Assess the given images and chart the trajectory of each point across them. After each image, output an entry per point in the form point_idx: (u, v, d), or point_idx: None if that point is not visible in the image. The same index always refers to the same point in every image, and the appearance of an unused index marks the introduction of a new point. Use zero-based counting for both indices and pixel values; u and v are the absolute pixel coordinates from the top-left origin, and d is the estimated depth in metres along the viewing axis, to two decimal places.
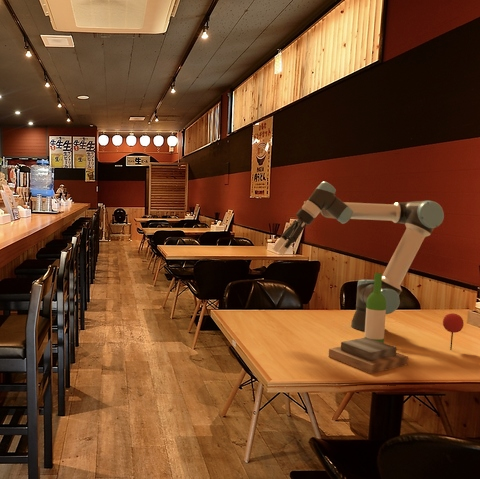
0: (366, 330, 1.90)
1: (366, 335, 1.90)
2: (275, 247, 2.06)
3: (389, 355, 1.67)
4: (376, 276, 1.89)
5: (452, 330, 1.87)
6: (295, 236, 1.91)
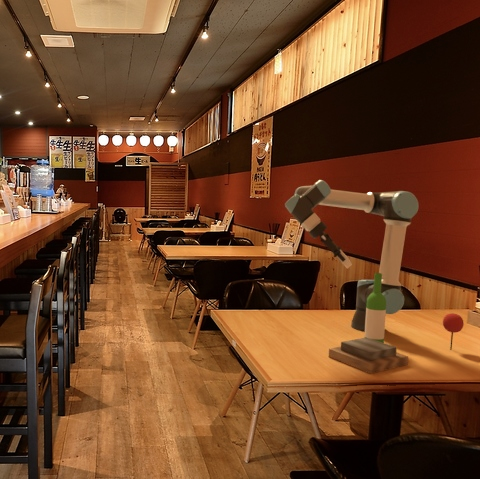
0: (366, 330, 1.90)
1: (366, 335, 1.90)
2: None
3: (389, 355, 1.67)
4: (376, 276, 1.89)
5: (452, 330, 1.87)
6: (334, 249, 1.83)
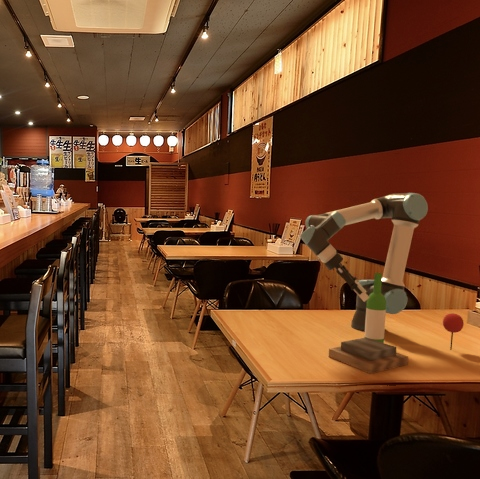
0: (366, 330, 1.90)
1: (366, 335, 1.90)
2: None
3: (389, 355, 1.67)
4: (376, 276, 1.89)
5: (452, 330, 1.87)
6: (351, 282, 1.82)
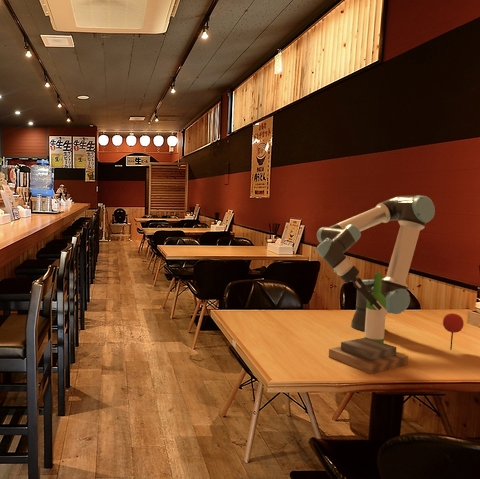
0: (366, 330, 1.90)
1: (366, 335, 1.90)
2: None
3: (389, 355, 1.67)
4: (376, 276, 1.89)
5: (452, 330, 1.87)
6: (370, 298, 1.84)
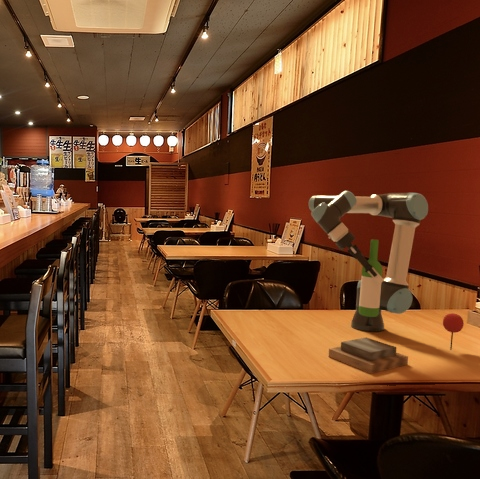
0: (361, 299, 1.82)
1: (360, 304, 1.82)
2: None
3: (389, 355, 1.67)
4: (372, 242, 1.81)
5: (452, 330, 1.87)
6: (365, 264, 1.76)
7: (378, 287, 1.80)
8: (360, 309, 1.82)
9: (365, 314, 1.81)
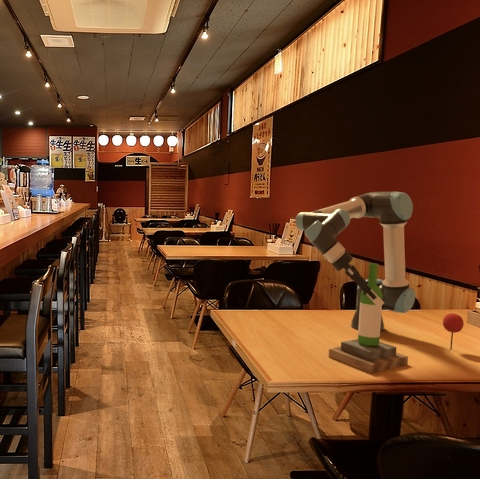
0: (360, 327, 1.70)
1: (360, 333, 1.70)
2: None
3: (389, 355, 1.67)
4: (371, 267, 1.69)
5: (452, 330, 1.87)
6: (363, 286, 1.62)
7: (378, 315, 1.68)
8: (359, 338, 1.70)
9: (365, 344, 1.68)
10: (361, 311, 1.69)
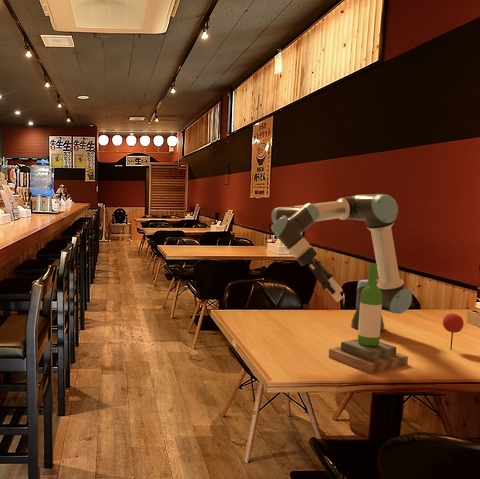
0: (360, 327, 1.70)
1: (360, 333, 1.70)
2: (336, 290, 1.79)
3: (389, 355, 1.67)
4: (371, 267, 1.69)
5: (452, 330, 1.87)
6: (323, 281, 1.64)
7: (378, 315, 1.67)
8: (359, 338, 1.70)
9: (365, 344, 1.68)
10: (361, 311, 1.69)
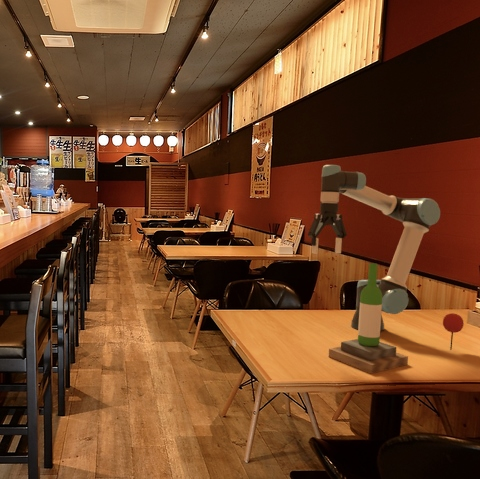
0: (360, 327, 1.70)
1: (360, 333, 1.70)
2: (336, 250, 1.98)
3: (389, 355, 1.67)
4: (371, 267, 1.68)
5: (452, 330, 1.87)
6: (311, 231, 1.88)
7: (378, 315, 1.67)
8: (359, 338, 1.70)
9: (365, 344, 1.68)
10: (361, 311, 1.69)
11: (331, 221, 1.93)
